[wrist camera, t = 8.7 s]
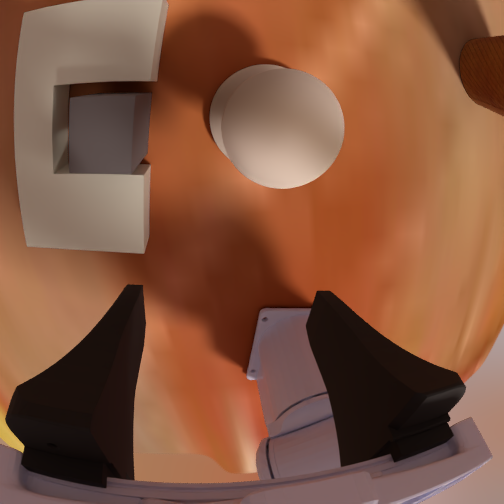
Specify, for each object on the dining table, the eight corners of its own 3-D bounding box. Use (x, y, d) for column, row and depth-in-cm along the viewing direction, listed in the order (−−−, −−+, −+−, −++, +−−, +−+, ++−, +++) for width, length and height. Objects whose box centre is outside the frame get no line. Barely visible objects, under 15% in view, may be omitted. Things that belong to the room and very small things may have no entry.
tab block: (147, 153, 19) (131, 174, 15) (97, 152, 18) (69, 173, 14) (152, 92, 17) (135, 95, 13) (99, 93, 16) (69, 98, 12)
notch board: (149, 236, 22) (144, 253, 20) (40, 230, 20) (27, 246, 18) (168, 4, 14) (163, -6, 12) (41, 17, 12) (23, 12, 10)
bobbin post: (306, 174, 21) (336, 204, 16) (203, 163, 20) (203, 192, 15) (325, 76, 18) (364, 77, 13) (217, 58, 17) (221, 48, 12)
